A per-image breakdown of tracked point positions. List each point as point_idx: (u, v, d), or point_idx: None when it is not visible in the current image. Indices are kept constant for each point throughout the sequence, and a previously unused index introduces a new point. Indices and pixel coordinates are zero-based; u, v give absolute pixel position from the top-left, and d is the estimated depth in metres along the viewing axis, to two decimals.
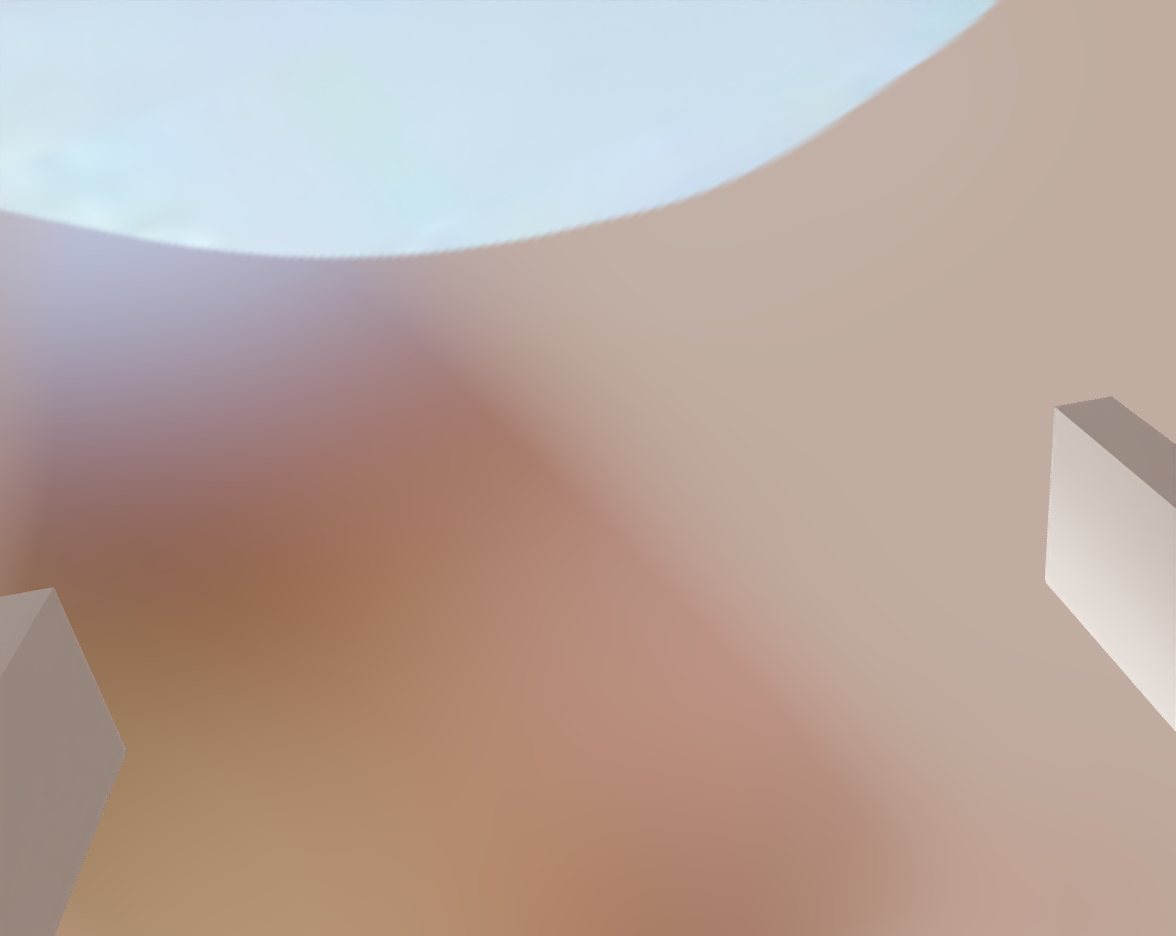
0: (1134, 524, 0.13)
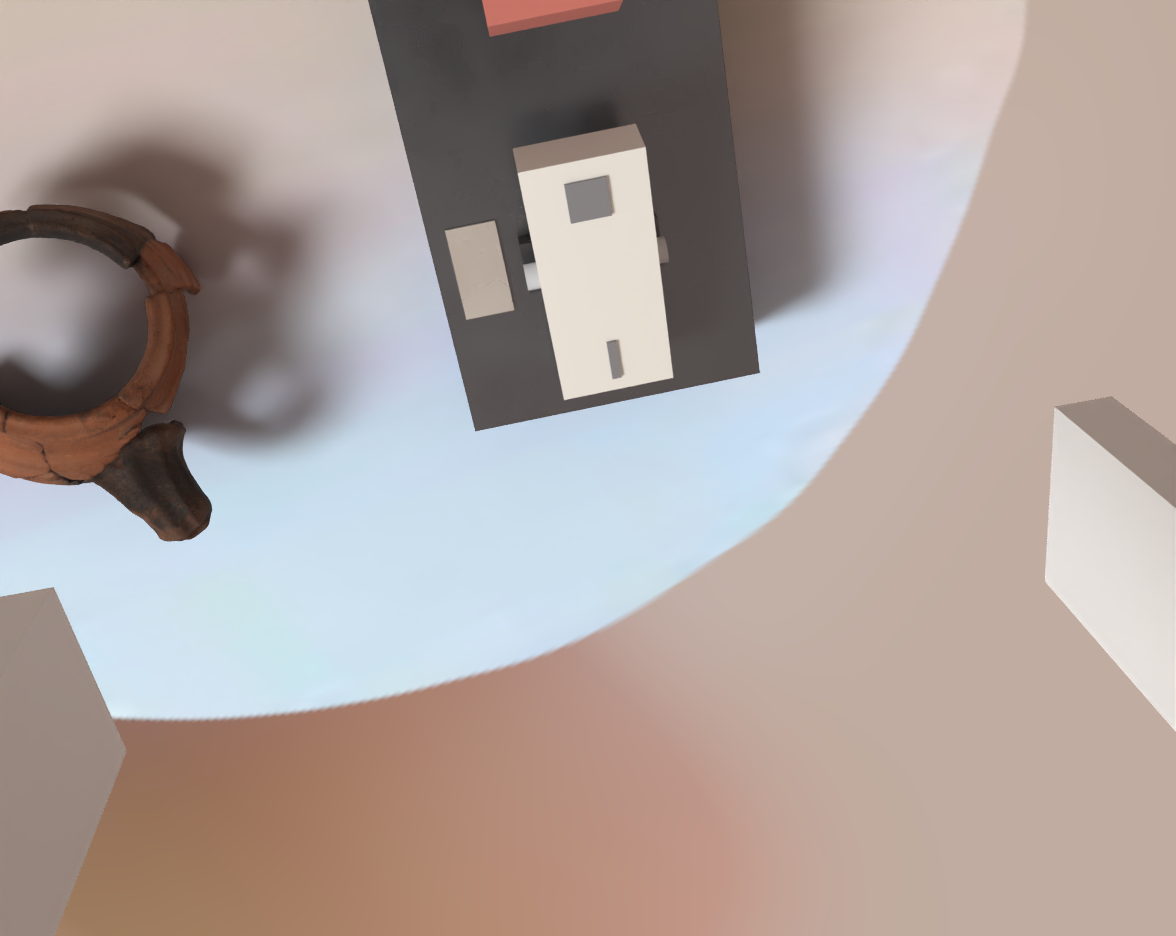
0: (1135, 524, 0.13)
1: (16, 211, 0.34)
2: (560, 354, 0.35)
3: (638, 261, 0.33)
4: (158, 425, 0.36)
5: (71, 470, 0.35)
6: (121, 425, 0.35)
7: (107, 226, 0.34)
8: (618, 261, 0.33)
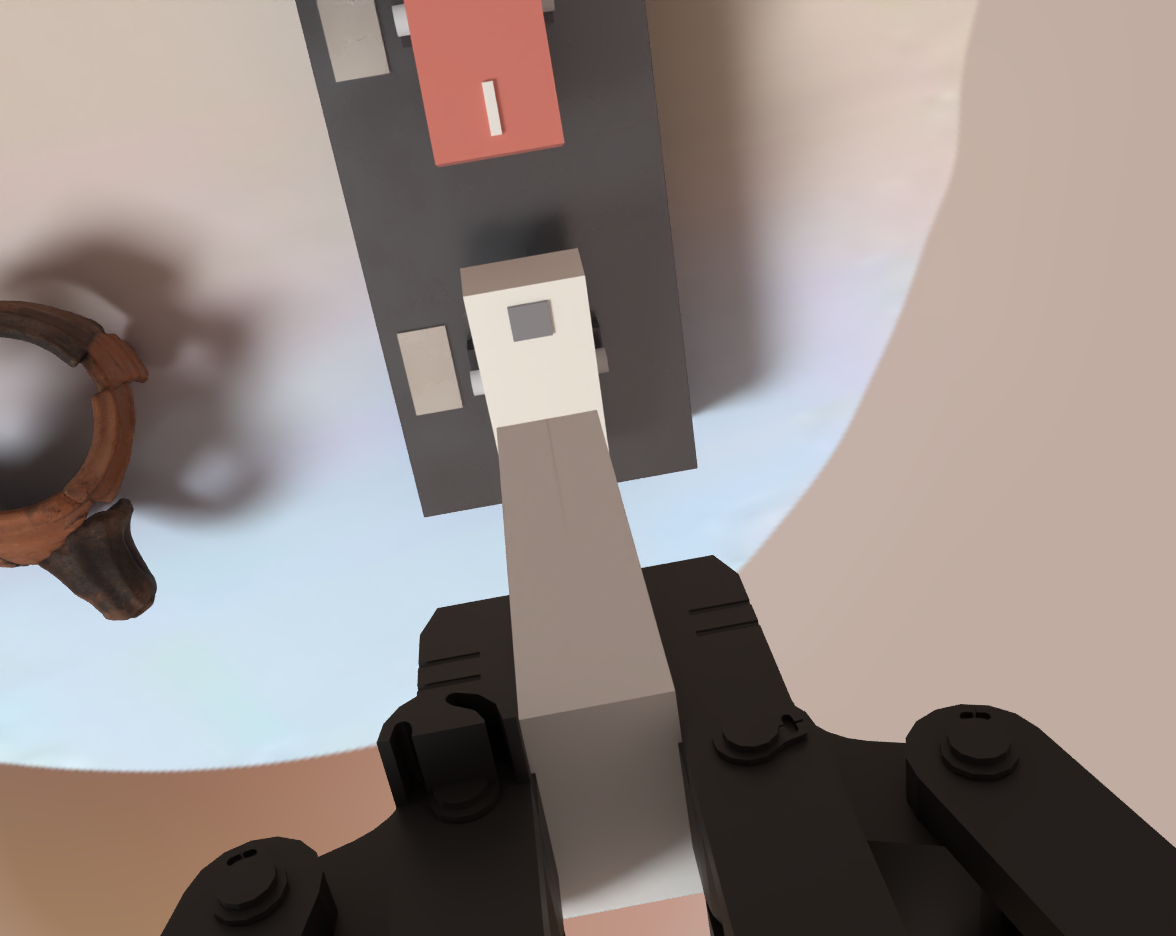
0: None
1: None
2: None
3: (578, 375, 0.35)
4: (104, 513, 0.38)
5: (19, 557, 0.37)
6: (67, 516, 0.36)
7: (55, 327, 0.36)
8: (559, 374, 0.34)
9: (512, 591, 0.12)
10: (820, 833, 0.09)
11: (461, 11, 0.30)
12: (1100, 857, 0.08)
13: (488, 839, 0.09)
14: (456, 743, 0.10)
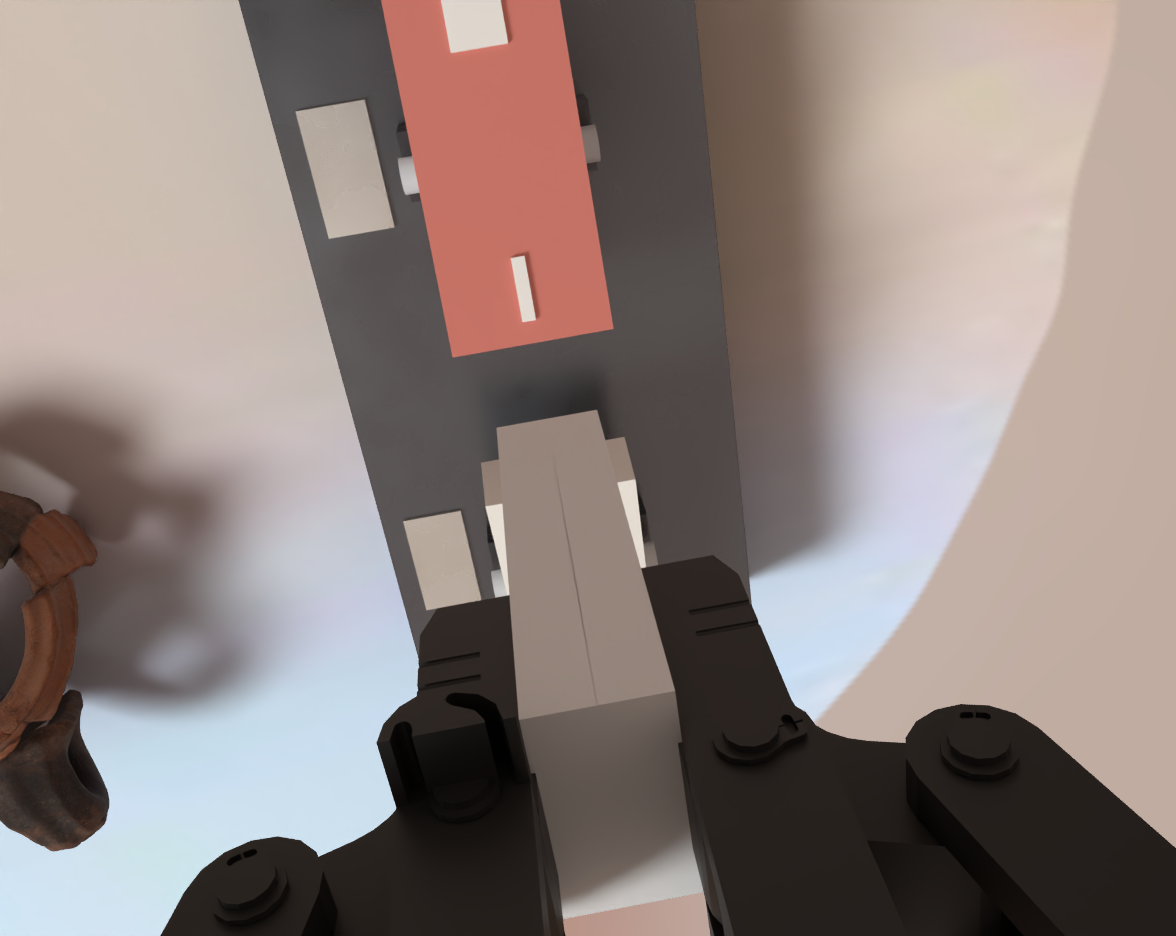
0: None
1: None
2: None
3: None
4: (42, 732, 0.32)
5: None
6: None
7: None
8: None
9: (512, 591, 0.12)
10: (820, 833, 0.09)
11: (485, 171, 0.23)
12: (1100, 857, 0.08)
13: (488, 839, 0.09)
14: (456, 743, 0.10)
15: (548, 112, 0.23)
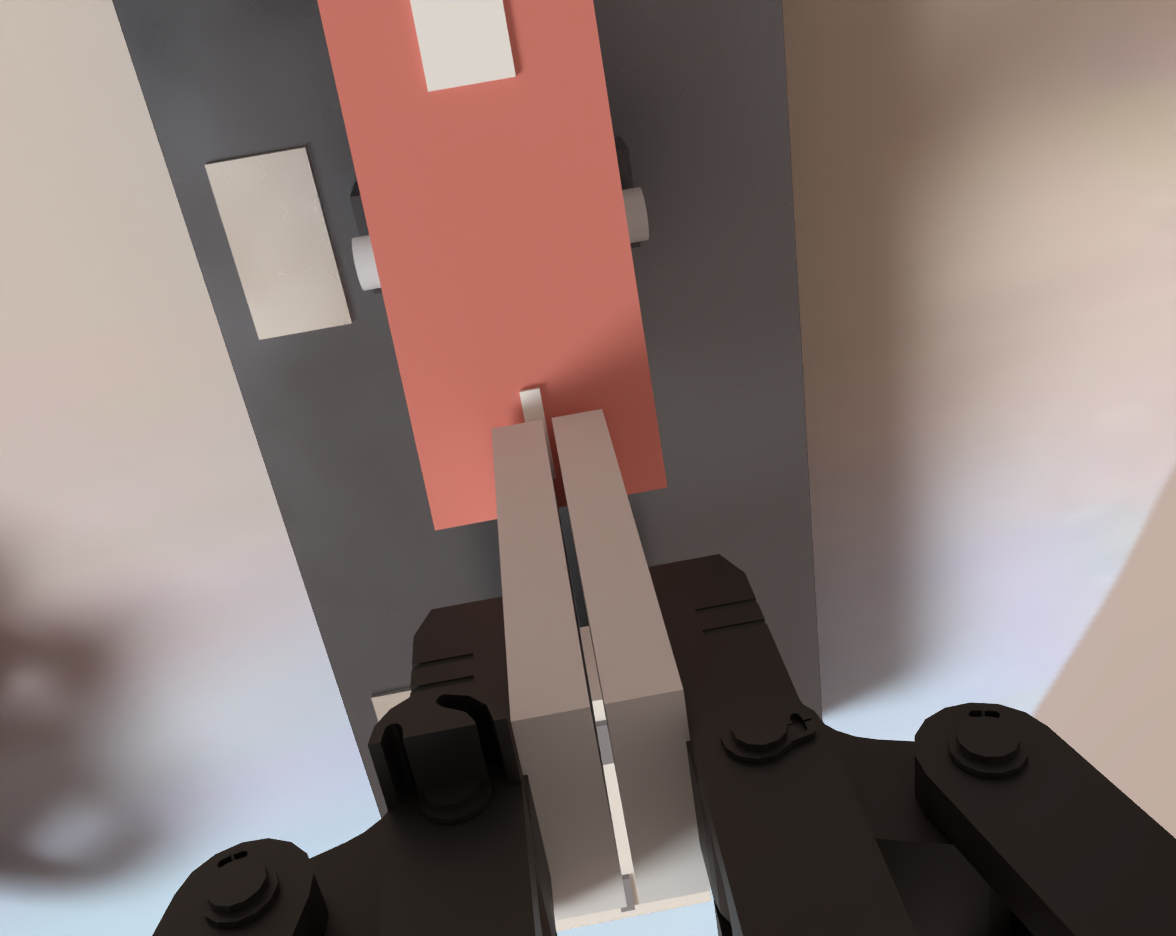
0: None
1: None
2: None
3: None
4: None
5: None
6: None
7: None
8: None
9: (505, 592, 0.12)
10: (829, 832, 0.09)
11: (481, 267, 0.16)
12: (1109, 856, 0.08)
13: (479, 841, 0.09)
14: (447, 745, 0.10)
15: (576, 179, 0.15)
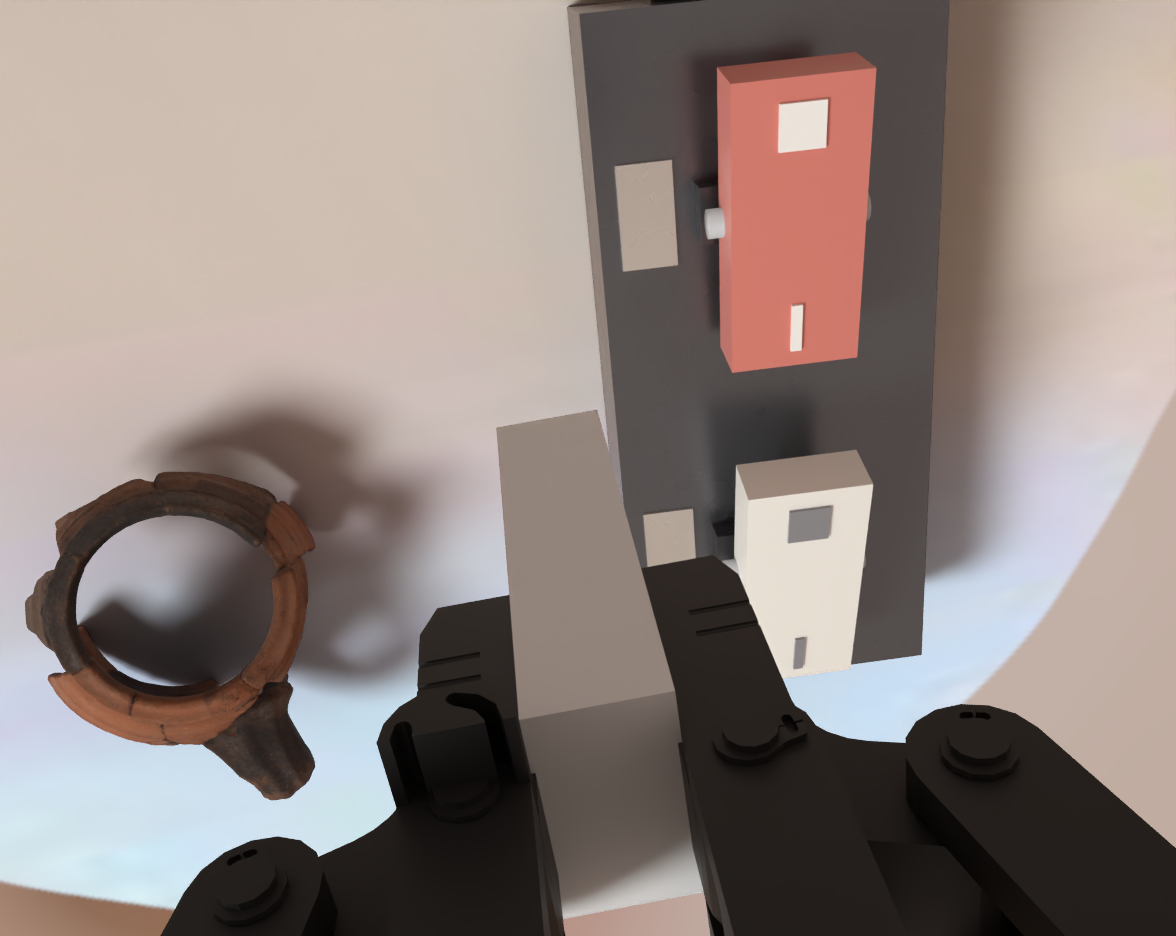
0: None
1: (152, 493, 0.34)
2: None
3: (842, 574, 0.34)
4: (272, 692, 0.36)
5: (185, 739, 0.35)
6: None
7: (239, 506, 0.35)
8: (823, 574, 0.33)
9: (512, 591, 0.12)
10: (820, 833, 0.09)
11: (786, 241, 0.29)
12: (1100, 857, 0.08)
13: (488, 839, 0.09)
14: (456, 743, 0.10)
15: (844, 200, 0.29)
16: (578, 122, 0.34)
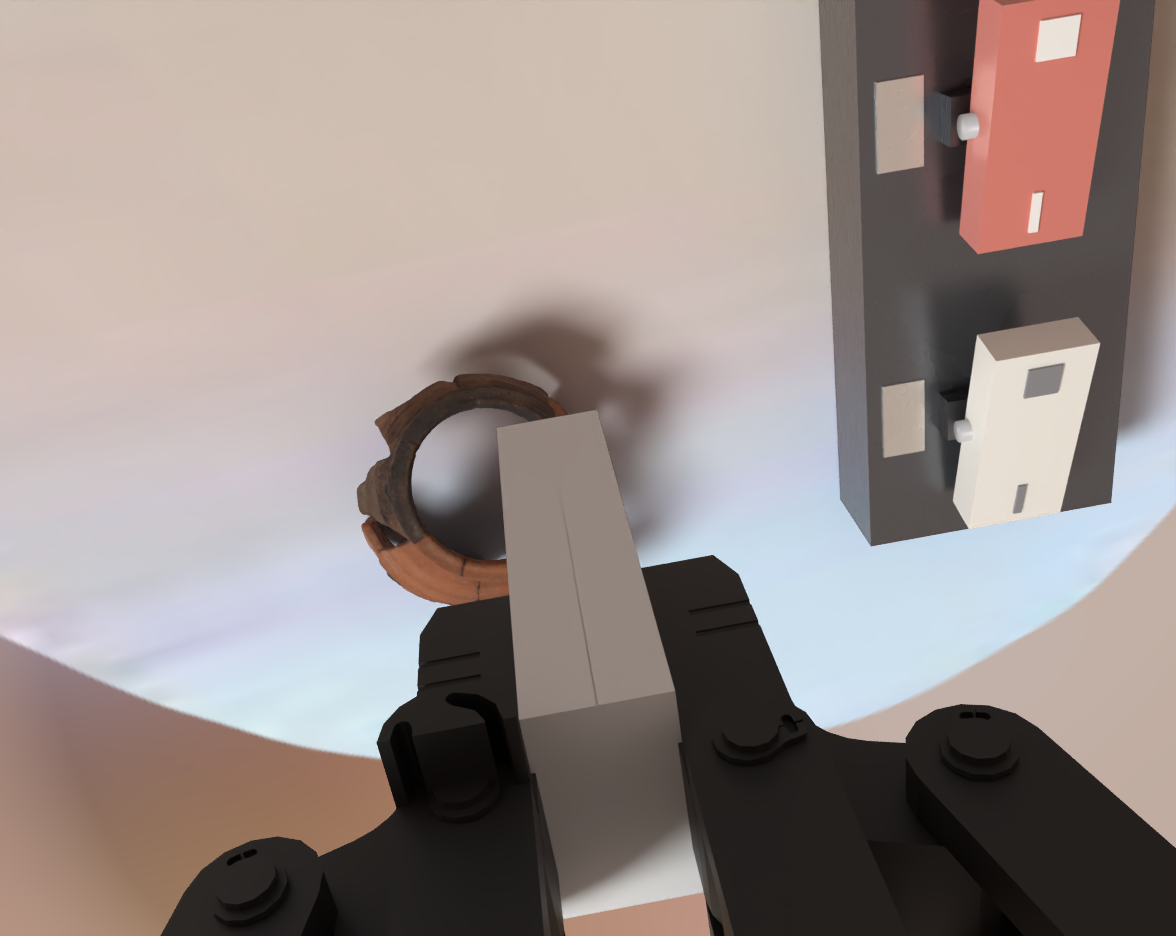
0: None
1: (465, 389, 0.40)
2: (978, 494, 0.41)
3: (1064, 425, 0.40)
4: None
5: None
6: None
7: (534, 397, 0.41)
8: (1049, 425, 0.39)
9: (513, 591, 0.12)
10: (820, 833, 0.09)
11: (1033, 138, 0.35)
12: (1100, 857, 0.08)
13: (488, 839, 0.09)
14: (456, 743, 0.10)
15: (1085, 99, 0.34)
16: (821, 49, 0.40)
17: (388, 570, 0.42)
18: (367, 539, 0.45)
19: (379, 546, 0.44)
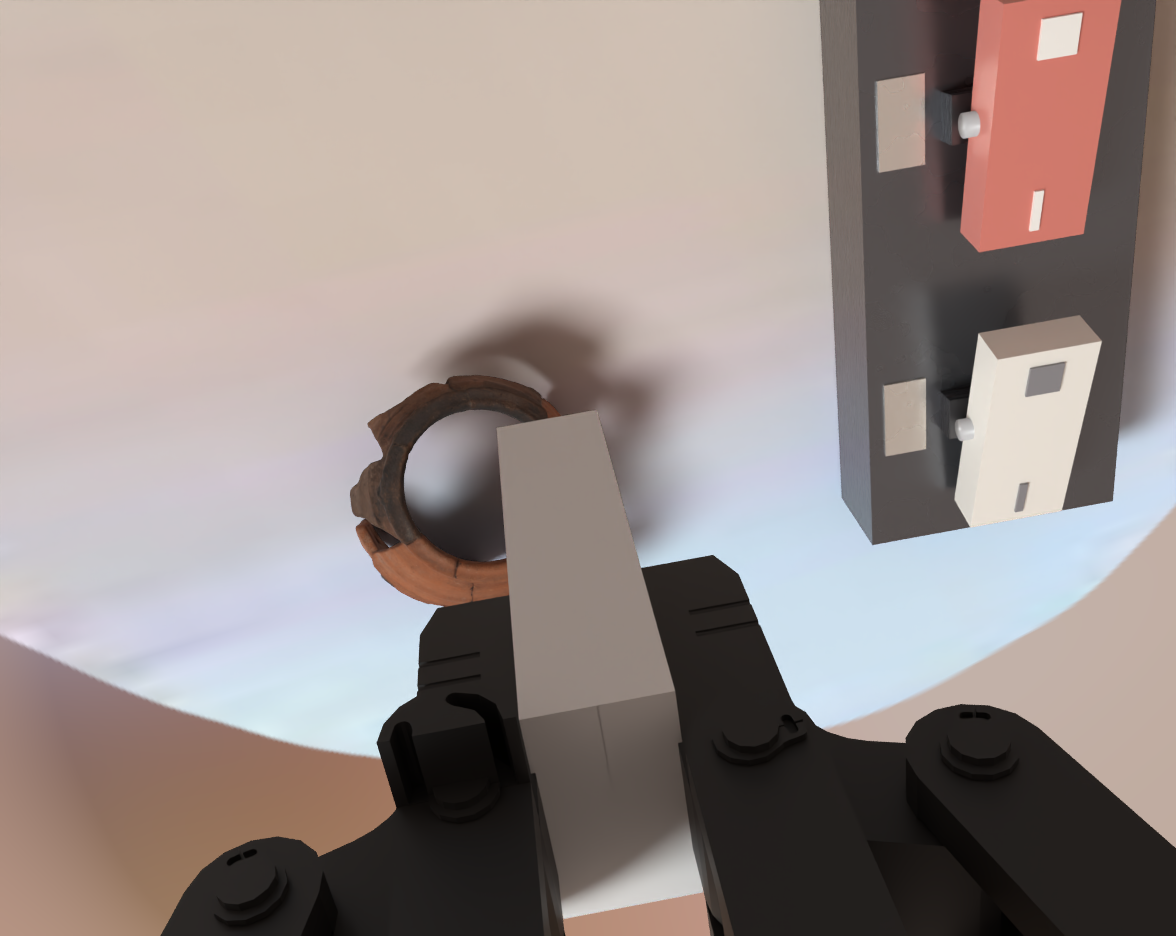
0: None
1: (457, 391, 0.40)
2: (980, 493, 0.41)
3: (1066, 424, 0.40)
4: None
5: None
6: None
7: (526, 399, 0.41)
8: (1050, 424, 0.39)
9: (512, 591, 0.12)
10: (820, 833, 0.09)
11: (1035, 136, 0.35)
12: (1100, 857, 0.08)
13: (488, 839, 0.09)
14: (456, 743, 0.10)
15: (1086, 98, 0.34)
16: (822, 47, 0.40)
17: (382, 572, 0.42)
18: (361, 541, 0.45)
19: (373, 548, 0.44)
